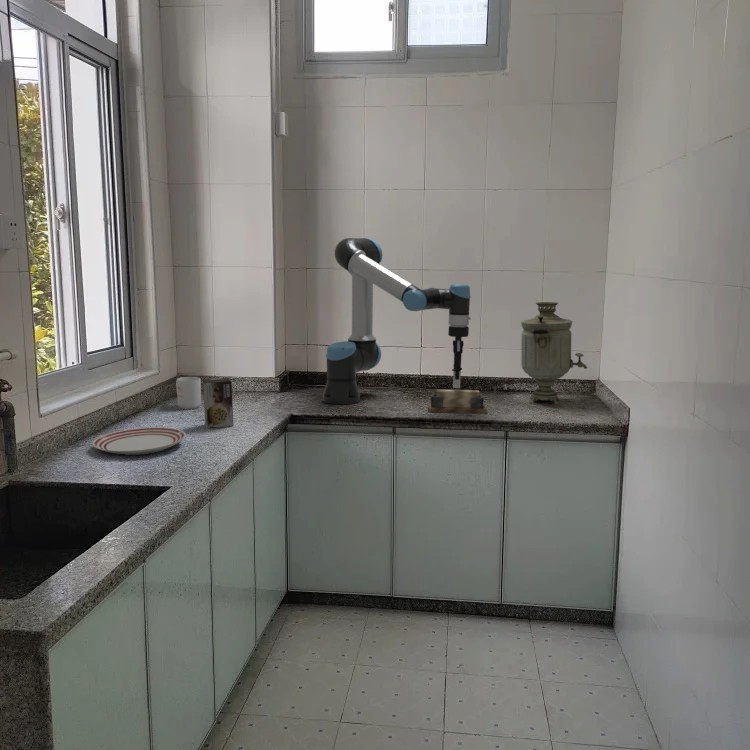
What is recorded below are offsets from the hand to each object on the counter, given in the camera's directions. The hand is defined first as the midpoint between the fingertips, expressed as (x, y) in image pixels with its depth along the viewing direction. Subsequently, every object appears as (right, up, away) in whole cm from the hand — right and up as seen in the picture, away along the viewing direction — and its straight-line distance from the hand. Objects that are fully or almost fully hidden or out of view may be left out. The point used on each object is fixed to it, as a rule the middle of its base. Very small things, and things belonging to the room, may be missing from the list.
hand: (456, 387), depth 273 cm
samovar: (+40, -6, +16) cm, 43 cm away
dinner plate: (-104, -18, -51) cm, 117 cm away
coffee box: (-85, -13, -24) cm, 90 cm away
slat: (0, -7, +1) cm, 7 cm away
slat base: (0, -9, +1) cm, 9 cm away
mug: (-104, -8, +5) cm, 104 cm away
